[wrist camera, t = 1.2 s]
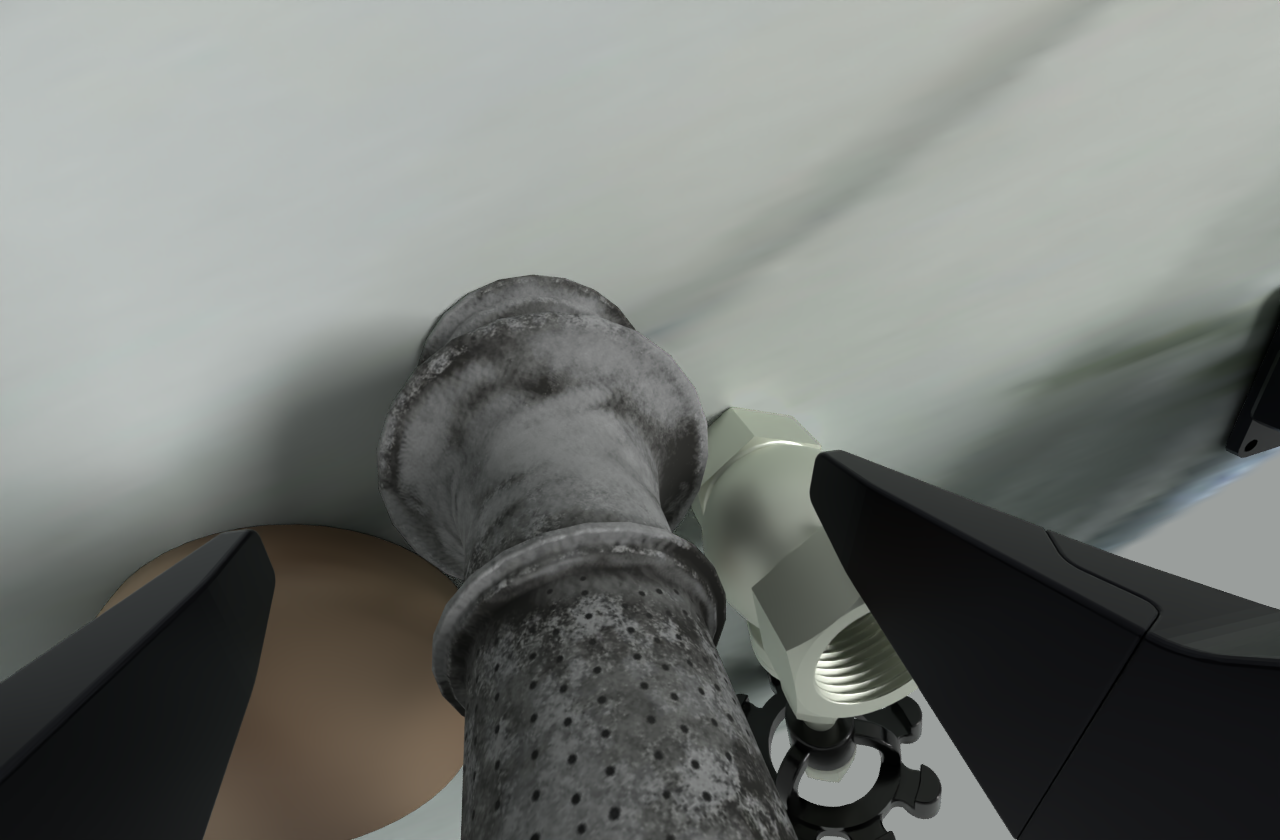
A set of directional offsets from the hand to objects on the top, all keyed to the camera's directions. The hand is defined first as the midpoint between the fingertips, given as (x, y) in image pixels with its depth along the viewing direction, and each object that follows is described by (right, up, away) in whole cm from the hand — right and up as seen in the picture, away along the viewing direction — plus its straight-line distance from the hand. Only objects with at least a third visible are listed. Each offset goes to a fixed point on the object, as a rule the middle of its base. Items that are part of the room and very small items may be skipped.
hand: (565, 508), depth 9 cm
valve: (+5, -3, +9) cm, 10 cm away
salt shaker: (-1, +2, +4) cm, 5 cm away
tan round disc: (-8, -5, +6) cm, 11 cm away
